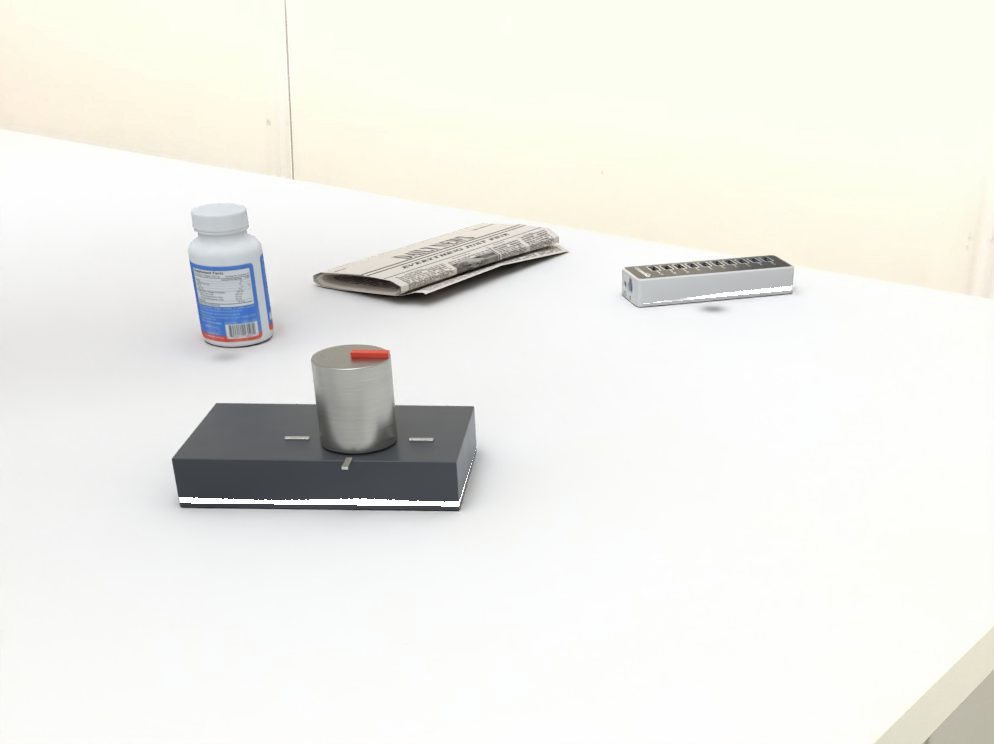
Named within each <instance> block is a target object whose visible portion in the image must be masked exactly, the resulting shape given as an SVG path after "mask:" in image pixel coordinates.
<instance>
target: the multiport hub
mask: <svg viewBox="0 0 994 744" xmlns="http://www.w3.org/2000/svg"><path fill="white" fill-rule="evenodd" d="M794 275H795V266H794V265H793V264H791V263H789V262H788V261H786V260H784V259H782V258H780V257H779V256H776V255H773V254H771V255H770V254H768V255H767V254H766V255H757V256H755V255H754V256H743V257H730V258H729V257H728V258H717V259H706V260H695V261H693V260H692V261H684V262H683V261H682V262H681V261H680V262H670V263H658V264H657V263H656V264H645V265H632V266H631V265H630V266H625V267H622V268H621V295H622V296H623V297H624V298H625V299H626V300H628V302H630V303H632V304H633V305H634V307H637V308H645V307H656V306H667V305H679V304H689V303H701V302H712V301H721V300H723V301H724V300H733V299H734V300H735V299H744V298H746V299H747V298H755V297H756V298H757V297H767V296H778V295H788V294H792V293H793V290H791V291H782V292H771V293H760V294H749V295H738V296H727V297H716V298H705V299H694V300H683V301H672V302H661V303H653V302H657V301H664V300H674V299H680V298H687V297H696V296H702V295H710V294H716V293H723V292H735V291H740V290H741V291H743V290H751V289H752V290H754V289H761V288H770V287H771V288H774V287H780V286H781V287H782V286H791V285H793V286H794ZM643 303H650V304H643Z"/></svg>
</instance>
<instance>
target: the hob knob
mask: <svg viewBox="0 0 994 744" xmlns="http://www.w3.org/2000/svg"><path fill="white" fill-rule="evenodd" d="M310 363H311V372H312V382H313V390H314V399H315V404H316V408H317V417H318V425H319V434H320V442H321V444H322V446H323V447H324V448H326V449H328V450H330V451H333V452H338V453H345V454H362V453H370V452H375V451H379V450H382V449H385V448H387V447H390V446H391V445H393V444H394V443H395V442H396V441H397V438H398V436H397V424H396V412H395V405H396V403H395V402H396V401H395V390H394V379H393V368H392V367H393V366H392V356H391V351H390V349H385V348H384V347H381V346H377V345H372V344H361V343H359V344H356V343H355V344H352V343H351V344H341V345H335V346H329V347H326V348H323V349H321V350H318V351H316V352H315V353H313V355H311V358H310Z"/></svg>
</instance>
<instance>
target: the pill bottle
mask: <svg viewBox="0 0 994 744" xmlns="http://www.w3.org/2000/svg"><path fill="white" fill-rule="evenodd" d="M190 215H191V223H192V228H193V231H194V232H196V234H197V237H195V238H193V239H192V240H191V241H190V243H189V244H188V247H187V254H188V261H189V268H190V273H191V278H192V283H193V284H192V285H193V289H194V295H195V300H196V307H197V313H198V319H199V326H200V331H201V335H202V338H203V340H204V341H205V342H207V343H208V344H211V345H214V346H218V347H225V348H237V347H239V348H240V347H246V346H251V345H252V346H253V345H256V344H259V343H262V342H265V341H267V340H269V339H271V337H272V336H273V334H274V320H273V314H272V307H271V300H270V294H269V293H270V292H269V287H268V280H267V273H266V271H267V270H266V265H265V257H264V252H263V251H264V250H263V247H262V243H261V241H260V239H258V238H257V237H256V236H255V235H253V234H250V233H248V231H247V230H248V229H249V227H250V224H249V215H248V210H247V207H246V206H245V205H242V204H238V203H230V202H227V203H226V202H221V203H220V202H218V203H208V204H203V205H198V206H196V207H194V208H192V209H191V210H190Z"/></svg>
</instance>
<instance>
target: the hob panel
mask: <svg viewBox="0 0 994 744" xmlns="http://www.w3.org/2000/svg"><path fill="white" fill-rule="evenodd" d="M395 412H396V424H397V436H398V438H397V441H396V442H395V443H394V444H393V445H391V446H390V447H387V448H385V449H382V450H379V451H375V452H370V453H362V454H345V453H338V452H333V451H330V450H328V449H326V448H324V447H323V446H322V444H321V442H320V434H319V425H318V417H317V408H316V403H252V402H250V403H249V402H248V403H247V402H245V403H244V402H215V404H214V405H213V407H211V409H210V410H209V411H208V412H207V414H206V415H205V416H204V418H203V419H202V420H201V421H200V422H199V424H197V426H196V427H195V429H194V430H193V432H191V434H190V435H189V436H188V437H187V438H186V440H185V441H184V443H183V444H182V445H181V446H180V448H178V450H177V451H176V453H175V454H174V455H173V456H172V457H171V463H172V469H173V475H174V481H175V486H176V491H177V498H178V497H193V498H195V497H198V498H222V499H224V498H228V499H233V498H234V499H254V500H258V499H259V500H264V499H267V500H271V499H272V500H285V499H286V500H291V499H293V500H298V499H300V500H305V499H307V500H309V499H340V498H342V499H348V498H350V499H353V498H359V499H361V498H367V499H374V498H375V499H387V500H388V499H389V500H392V499H395V500H409V501H417V500H419V501H444V502H445V501H459V499H460V497H461V494H462V490H463V487H464V484H465V481H466V478H467V475H468V472H469V469H470V472H469V475H468V479H467V482H466V485H465V489H464V492H463V496H462V499H461V502H460V506H459V507H441V506H357V505H274V504H191V503H179V502H178V503H179V507H180V508H227V509H228V508H233V509H235V508H238V509H244V508H245V509H321V510H322V509H325V510H327V509H328V510H393V511H394V510H400V511H404V510H405V511H407V510H408V511H460V510H461V506H462V502H463V499H464V495H465V492H466V488H467V485H468V482H469V478H470V475H471V472H472V468H473V464H474V461H475V458H476V454H477V451H478V450H477V448H476V447H477V430H476V411H475V406H474V405H417V404H416V405H414V404H413V405H412V404H411V405H410V404H409V405H408V404H407V405H406V404H395ZM475 450H476V451H475ZM474 453H475V455H474ZM473 457H474V458H473ZM472 460H473V461H472ZM471 463H472V465H471ZM470 466H471V468H470Z"/></svg>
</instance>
